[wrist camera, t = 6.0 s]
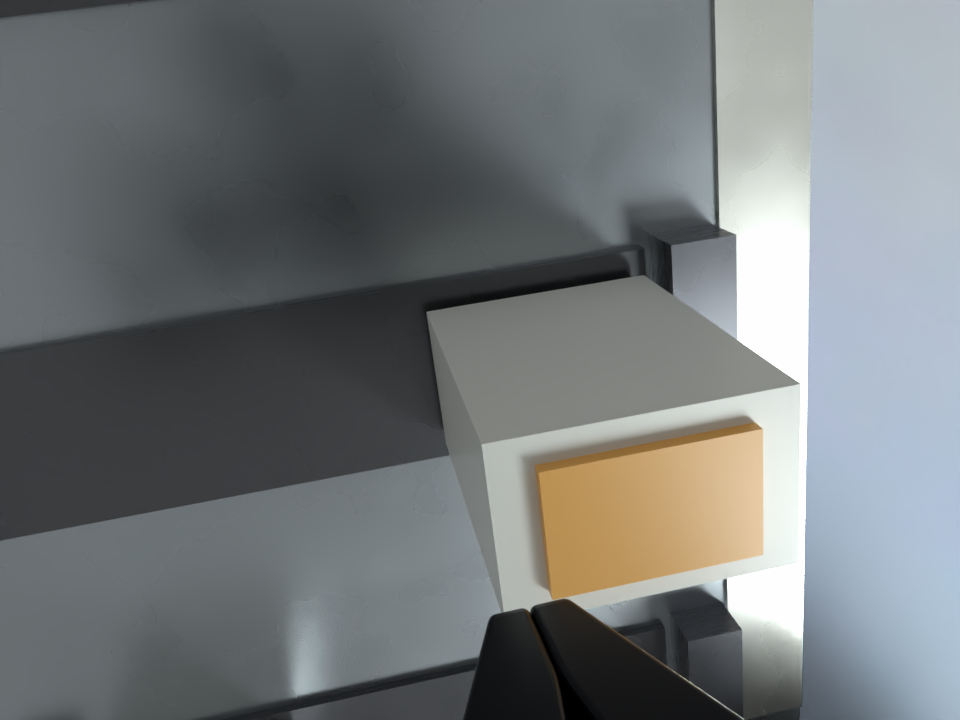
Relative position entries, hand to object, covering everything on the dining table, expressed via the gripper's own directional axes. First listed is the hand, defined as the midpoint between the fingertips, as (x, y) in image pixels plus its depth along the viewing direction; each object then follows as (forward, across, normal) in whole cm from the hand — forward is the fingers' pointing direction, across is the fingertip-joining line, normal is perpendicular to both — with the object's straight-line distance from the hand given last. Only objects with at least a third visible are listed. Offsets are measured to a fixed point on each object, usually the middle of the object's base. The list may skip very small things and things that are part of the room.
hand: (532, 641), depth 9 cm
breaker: (+7, -2, 0) cm, 7 cm away
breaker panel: (+10, +2, 0) cm, 10 cm away
